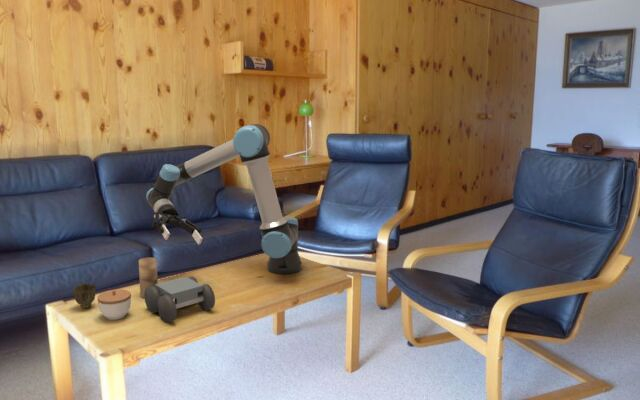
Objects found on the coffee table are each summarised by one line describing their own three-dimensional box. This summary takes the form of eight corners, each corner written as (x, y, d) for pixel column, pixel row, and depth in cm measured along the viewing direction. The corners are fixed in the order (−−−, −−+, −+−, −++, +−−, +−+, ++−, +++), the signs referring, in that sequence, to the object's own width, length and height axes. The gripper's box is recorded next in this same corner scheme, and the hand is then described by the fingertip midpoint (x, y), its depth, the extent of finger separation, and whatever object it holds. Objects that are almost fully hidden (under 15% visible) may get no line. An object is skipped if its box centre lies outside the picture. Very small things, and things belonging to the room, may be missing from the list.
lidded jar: (95, 314, 183) (93, 289, 181) (126, 307, 189) (124, 282, 187) (104, 325, 174) (102, 299, 172) (136, 317, 181) (134, 292, 179)
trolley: (188, 296, 200) (187, 272, 198) (215, 311, 186) (214, 286, 184) (145, 308, 188) (143, 283, 186) (170, 326, 175) (169, 299, 173)
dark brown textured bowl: (101, 305, 191) (100, 284, 189) (87, 313, 184) (85, 291, 182) (84, 302, 193) (83, 281, 191) (69, 310, 186) (67, 288, 184)
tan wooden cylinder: (153, 290, 205) (151, 256, 202) (161, 295, 200) (159, 260, 197) (137, 294, 200) (135, 259, 197) (145, 299, 196) (143, 264, 193)
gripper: (190, 224, 220) (209, 251, 205) (132, 214, 204) (149, 243, 189) (196, 209, 219) (217, 235, 203) (139, 197, 202) (156, 225, 187)
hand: (184, 239), depth 196 cm, fingers open, 13 cm apart
